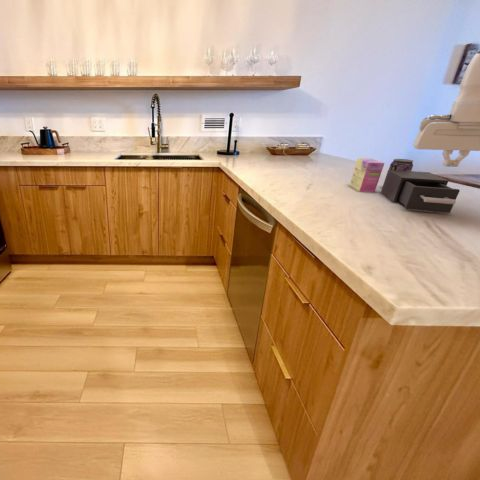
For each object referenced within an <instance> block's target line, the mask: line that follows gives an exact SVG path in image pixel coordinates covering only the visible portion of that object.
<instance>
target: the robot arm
mask: <svg viewBox="0 0 480 480" xmlns="http://www.w3.org/2000/svg"><path fill="white" fill-rule="evenodd" d="M412 145H413V148H414V149H416V150H429V151H430V150H431V151H432V150H433V151H442V152H441V154H442V157H443V163H442V167H452V168H457V167H459V165H460V163H461V162H462V161H463V160H464V159H465V158H466V157H468V156H469V154H470V152H472V151H473V152H480V50H478V51H477V52H476V53H475V54H474V56H472V58H471V60H470V61H469V64H468V65H467V68H466V69H465V71H464V74H463V76H462V79H461V81H460V84H459V92H458V94H457V97H456V98H455V99H454V101H453V103H452V106H451V108H450V111H449V114H440V115H439V114H438V115H437V114H431V115H429V116H426V117H424V118H423V119H422V120H421V121H420V125H419V131H418V132H417V135H416V136H415V139H414V140H413V143H412ZM454 151H458V154H459V155H458V156H457V157H456V158H454V159H451V155H452V154H453V152H454Z"/></svg>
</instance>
